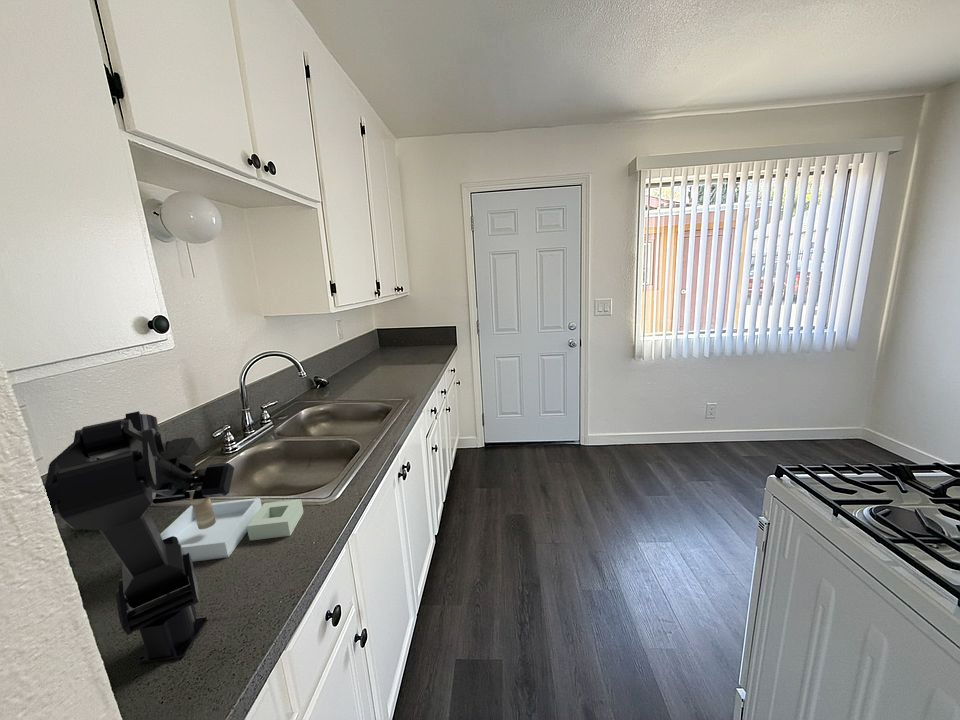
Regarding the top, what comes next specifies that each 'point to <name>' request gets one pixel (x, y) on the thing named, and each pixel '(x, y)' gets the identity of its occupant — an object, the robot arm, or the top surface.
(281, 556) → the top surface
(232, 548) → the tray
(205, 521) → the dowel
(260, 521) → the dowel block
